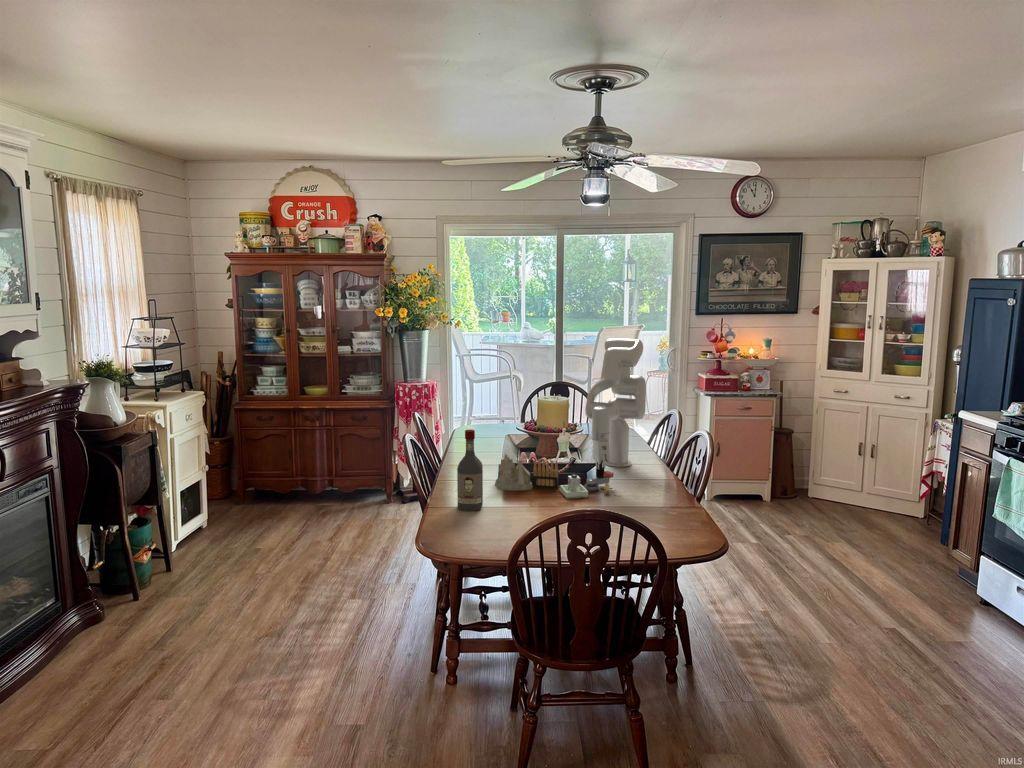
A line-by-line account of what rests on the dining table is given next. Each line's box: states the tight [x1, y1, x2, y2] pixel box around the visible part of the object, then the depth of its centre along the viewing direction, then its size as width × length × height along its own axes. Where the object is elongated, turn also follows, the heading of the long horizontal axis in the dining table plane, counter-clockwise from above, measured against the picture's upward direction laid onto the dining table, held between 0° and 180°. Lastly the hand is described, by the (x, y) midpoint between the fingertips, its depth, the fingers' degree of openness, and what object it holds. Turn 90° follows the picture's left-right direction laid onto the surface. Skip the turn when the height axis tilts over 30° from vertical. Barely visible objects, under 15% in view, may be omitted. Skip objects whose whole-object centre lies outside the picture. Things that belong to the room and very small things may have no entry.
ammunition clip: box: [532, 459, 559, 490], centre depth 284 cm, size 11×2×12 cm, turn 79°
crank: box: [585, 470, 614, 487], centre depth 283 cm, size 12×4×4 cm, turn 121°
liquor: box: [456, 429, 484, 512], centre depth 258 cm, size 9×9×30 cm
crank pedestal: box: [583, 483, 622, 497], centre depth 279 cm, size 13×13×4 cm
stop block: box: [567, 474, 581, 492], centre depth 276 cm, size 4×4×7 cm
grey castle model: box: [494, 453, 533, 492], centre depth 288 cm, size 16×16×15 cm
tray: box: [559, 483, 589, 499], centre depth 277 cm, size 10×9×2 cm
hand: (600, 477), depth 289 cm, fingers closed
